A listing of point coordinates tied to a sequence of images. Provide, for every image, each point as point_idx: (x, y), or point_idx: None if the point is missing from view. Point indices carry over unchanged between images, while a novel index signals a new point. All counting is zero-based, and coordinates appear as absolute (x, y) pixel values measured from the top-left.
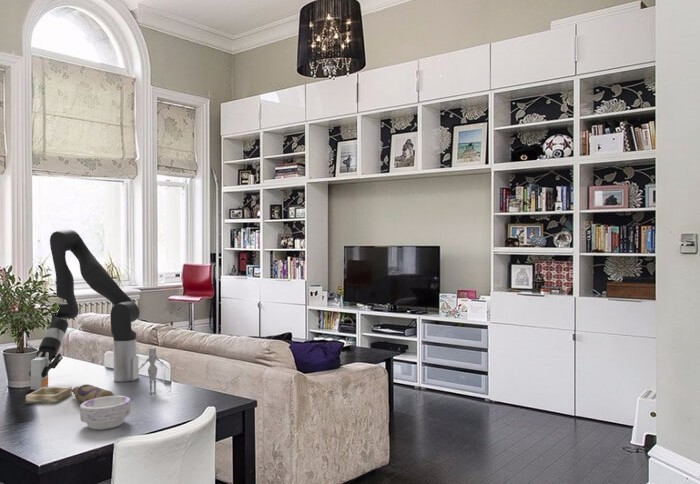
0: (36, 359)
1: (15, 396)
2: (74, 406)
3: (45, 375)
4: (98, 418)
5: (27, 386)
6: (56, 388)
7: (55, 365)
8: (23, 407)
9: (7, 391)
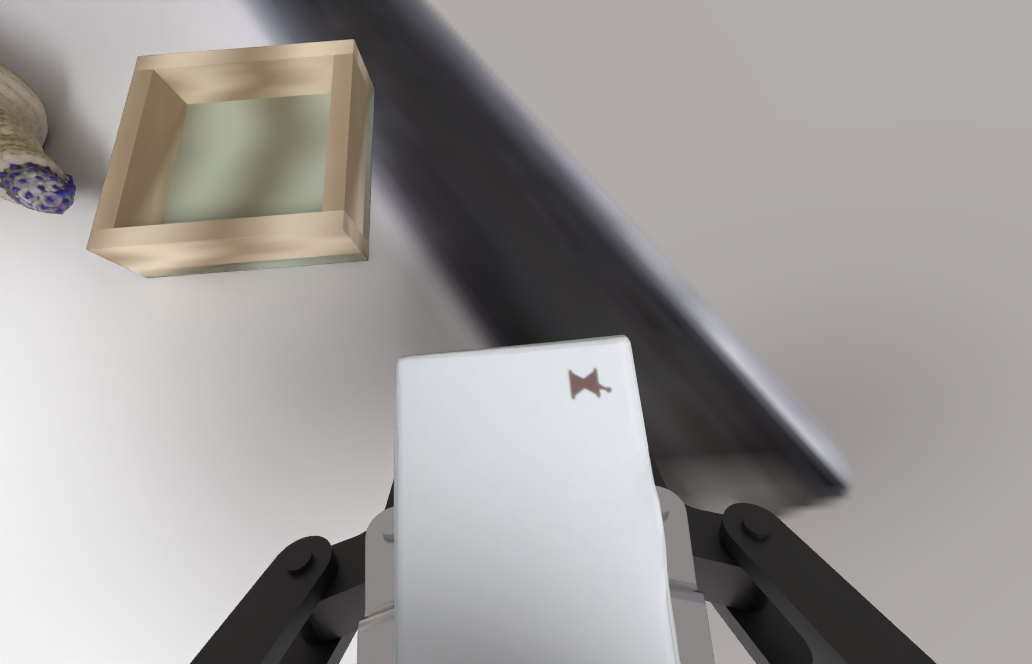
0: (521, 396)
1: (550, 218)
2: (61, 68)
3: None
4: None
5: None
6: (214, 222)
7: (291, 650)
8: (347, 33)
9: (724, 340)
